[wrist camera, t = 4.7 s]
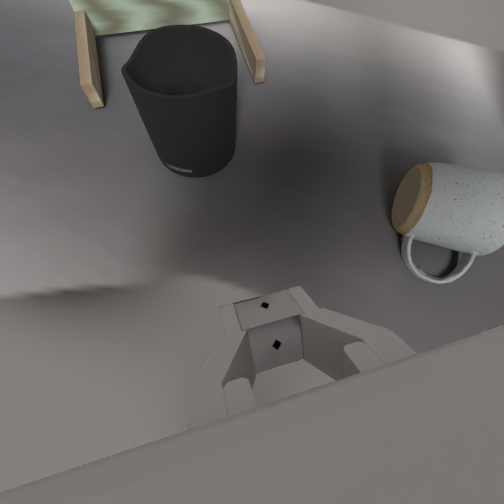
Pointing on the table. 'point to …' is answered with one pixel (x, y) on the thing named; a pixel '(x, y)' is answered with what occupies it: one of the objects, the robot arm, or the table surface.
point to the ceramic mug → (450, 212)
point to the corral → (151, 17)
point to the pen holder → (186, 96)
